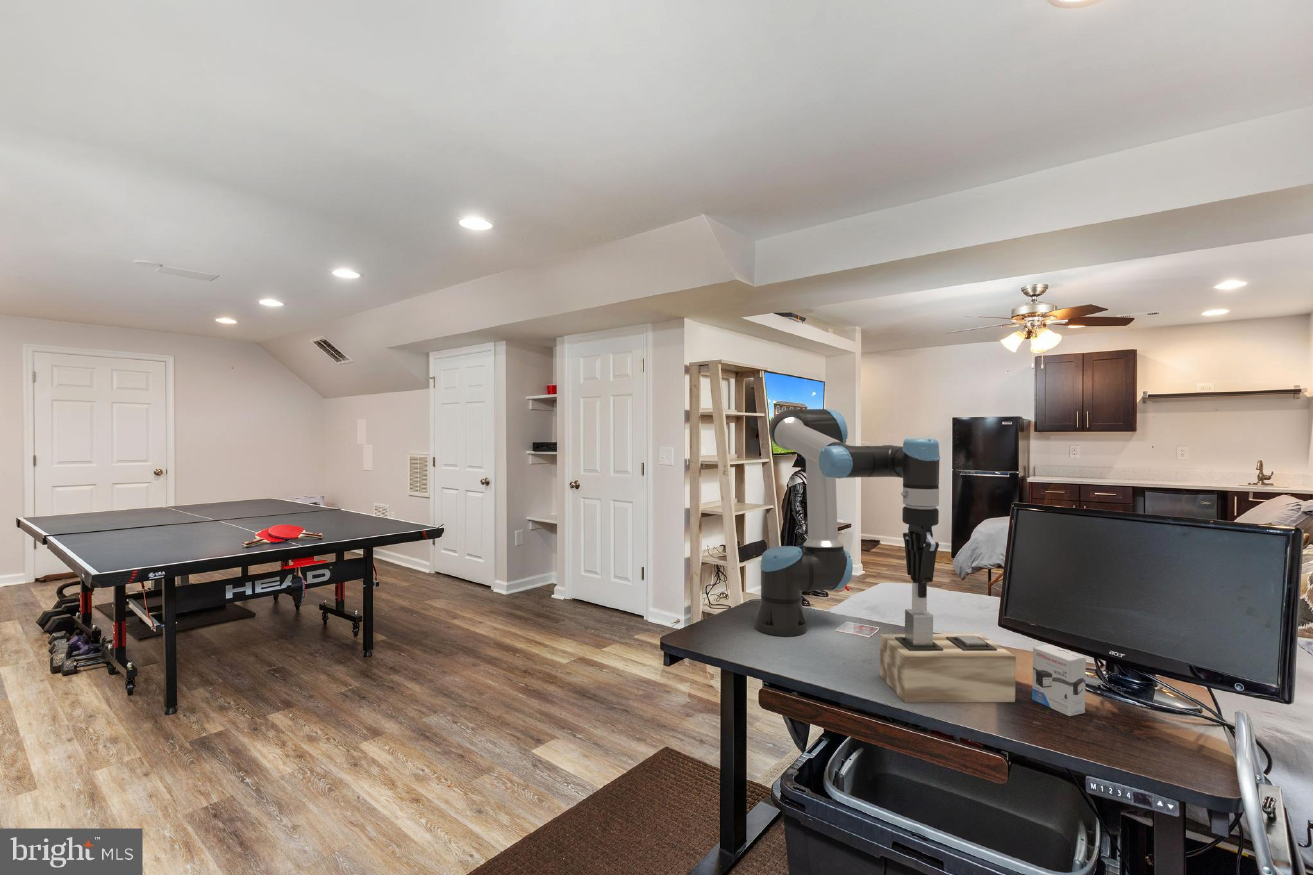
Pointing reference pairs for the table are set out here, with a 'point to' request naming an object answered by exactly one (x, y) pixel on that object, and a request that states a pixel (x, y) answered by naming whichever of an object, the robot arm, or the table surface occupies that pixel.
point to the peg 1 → (918, 628)
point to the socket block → (947, 670)
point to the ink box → (1059, 679)
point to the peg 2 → (970, 641)
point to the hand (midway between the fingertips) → (919, 610)
